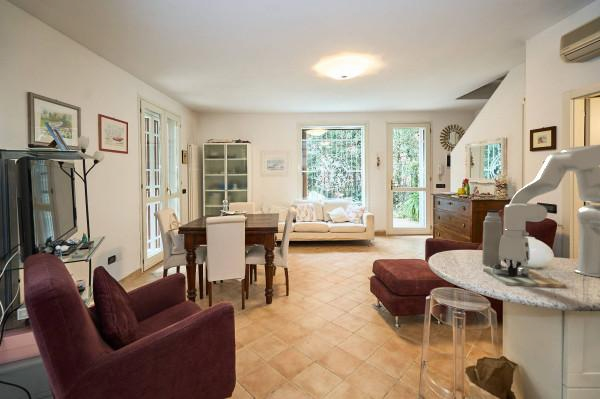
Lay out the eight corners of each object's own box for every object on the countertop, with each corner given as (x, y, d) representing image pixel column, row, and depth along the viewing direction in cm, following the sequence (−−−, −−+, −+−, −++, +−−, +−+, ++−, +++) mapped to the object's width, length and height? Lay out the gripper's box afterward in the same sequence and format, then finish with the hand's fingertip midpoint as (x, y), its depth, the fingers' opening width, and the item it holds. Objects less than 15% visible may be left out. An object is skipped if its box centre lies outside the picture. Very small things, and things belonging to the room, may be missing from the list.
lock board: (534, 272, 138) (534, 263, 138) (565, 287, 118) (566, 277, 118) (483, 270, 141) (483, 262, 141) (505, 284, 122) (506, 274, 121)
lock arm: (526, 274, 131) (526, 264, 131) (530, 276, 128) (530, 267, 127) (493, 272, 134) (493, 263, 134) (496, 274, 131) (496, 265, 130)
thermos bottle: (479, 262, 156) (480, 209, 155) (495, 262, 156) (496, 209, 154) (487, 266, 148) (488, 211, 147) (504, 267, 148) (506, 211, 146)
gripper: (539, 235, 121) (537, 279, 122) (500, 230, 134) (499, 270, 135) (529, 237, 117) (527, 282, 118) (490, 231, 130) (489, 272, 131)
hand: (512, 276), depth 126 cm, fingers closed
